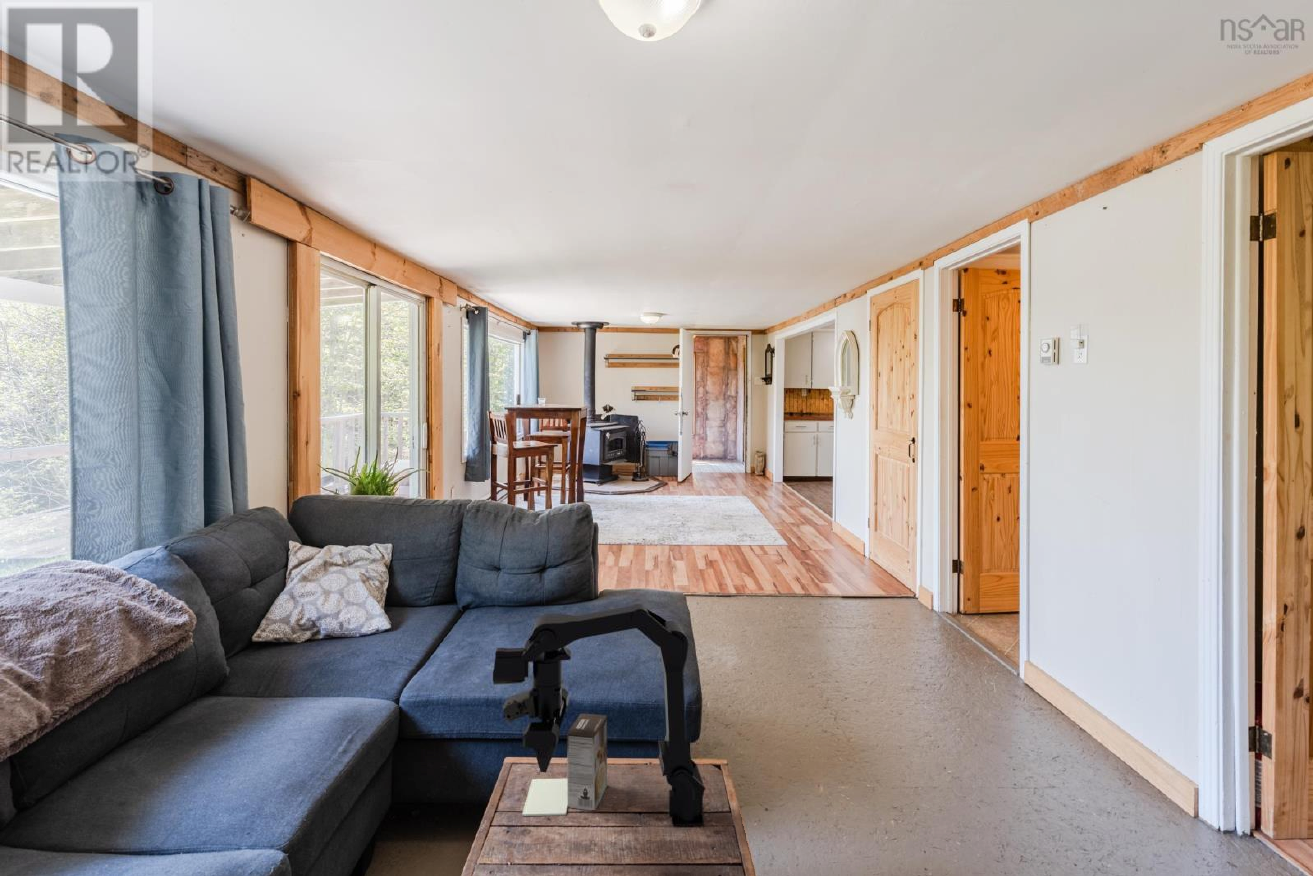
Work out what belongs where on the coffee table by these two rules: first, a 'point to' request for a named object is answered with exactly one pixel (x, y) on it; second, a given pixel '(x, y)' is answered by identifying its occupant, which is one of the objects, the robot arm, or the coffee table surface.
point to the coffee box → (587, 761)
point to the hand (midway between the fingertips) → (547, 758)
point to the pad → (546, 798)
